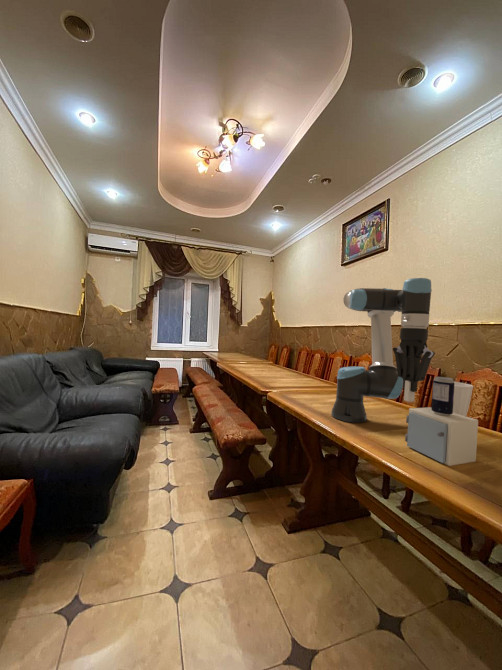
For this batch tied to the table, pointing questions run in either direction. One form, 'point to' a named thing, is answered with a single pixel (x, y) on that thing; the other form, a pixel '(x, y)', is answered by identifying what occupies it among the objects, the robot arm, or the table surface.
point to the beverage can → (443, 396)
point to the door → (427, 436)
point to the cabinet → (455, 435)
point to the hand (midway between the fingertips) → (409, 400)
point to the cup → (462, 398)
